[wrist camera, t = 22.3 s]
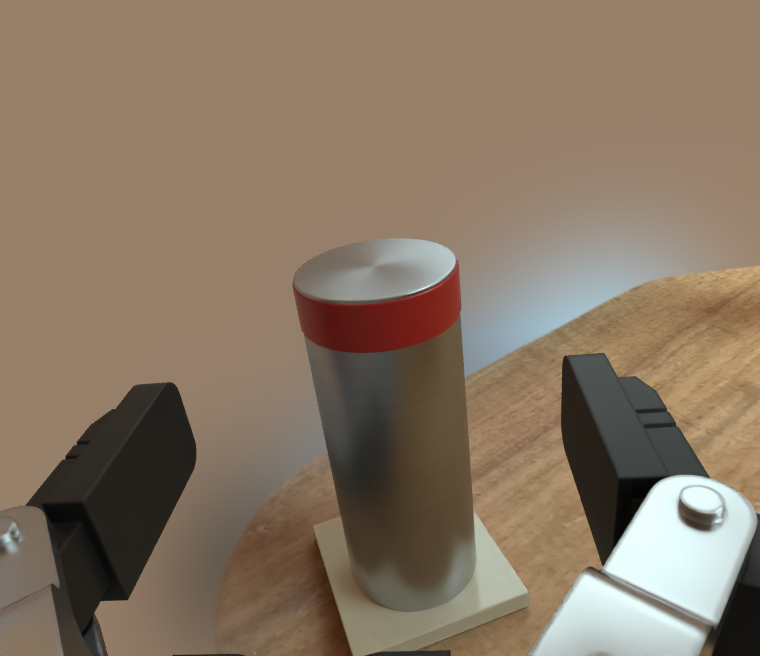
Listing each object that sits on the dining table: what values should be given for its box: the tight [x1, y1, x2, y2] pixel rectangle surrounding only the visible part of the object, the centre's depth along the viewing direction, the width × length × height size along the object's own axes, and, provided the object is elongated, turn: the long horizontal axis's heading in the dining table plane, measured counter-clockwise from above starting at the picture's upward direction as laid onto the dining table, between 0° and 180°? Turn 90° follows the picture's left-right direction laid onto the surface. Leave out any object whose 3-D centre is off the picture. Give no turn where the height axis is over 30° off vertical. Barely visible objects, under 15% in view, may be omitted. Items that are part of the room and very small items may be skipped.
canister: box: [293, 239, 476, 611], centre depth 22 cm, size 5×5×13 cm
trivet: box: [313, 510, 529, 656], centre depth 25 cm, size 7×7×1 cm
